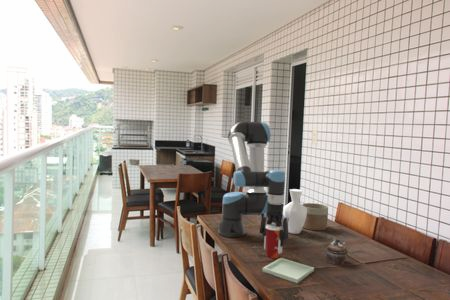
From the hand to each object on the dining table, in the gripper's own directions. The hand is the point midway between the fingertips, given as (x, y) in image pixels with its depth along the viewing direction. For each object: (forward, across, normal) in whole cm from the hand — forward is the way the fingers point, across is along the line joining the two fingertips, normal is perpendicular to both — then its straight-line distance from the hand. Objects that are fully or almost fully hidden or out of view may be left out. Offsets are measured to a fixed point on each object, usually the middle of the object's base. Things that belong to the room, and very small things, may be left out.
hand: (272, 250), depth 161 cm
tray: (+3, +14, -11) cm, 18 cm away
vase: (+3, -11, +44) cm, 45 cm away
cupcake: (+3, +25, +15) cm, 29 cm away
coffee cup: (+3, 0, 0) cm, 3 cm away
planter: (+3, -6, +62) cm, 62 cm away
